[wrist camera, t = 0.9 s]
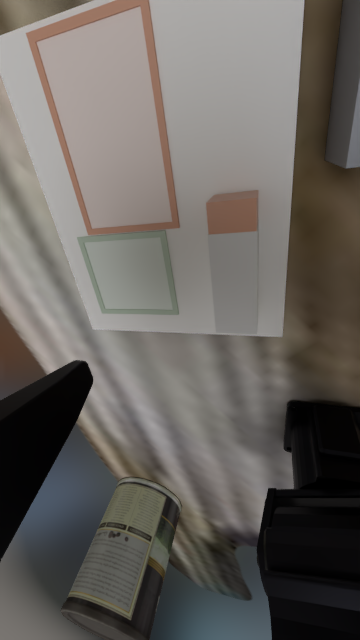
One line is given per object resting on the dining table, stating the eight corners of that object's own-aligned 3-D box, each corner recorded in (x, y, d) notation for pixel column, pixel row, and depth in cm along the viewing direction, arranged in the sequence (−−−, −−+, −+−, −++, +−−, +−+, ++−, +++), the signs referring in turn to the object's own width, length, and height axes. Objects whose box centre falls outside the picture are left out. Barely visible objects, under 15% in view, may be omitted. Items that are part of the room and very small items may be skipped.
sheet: (282, 333, 20) (282, 338, 20) (95, 327, 25) (92, 330, 25) (308, -74, 10) (310, -84, 10) (-7, 42, 15) (-15, 39, 15)
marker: (258, 313, 19) (256, 334, 17) (221, 312, 20) (215, 332, 18) (259, 189, 15) (257, 197, 13) (213, 194, 16) (204, 203, 14)
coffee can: (196, 508, 39) (166, 660, 28) (155, 518, 45) (117, 647, 34) (140, 469, 37) (83, 613, 26) (105, 485, 43) (46, 609, 32)
